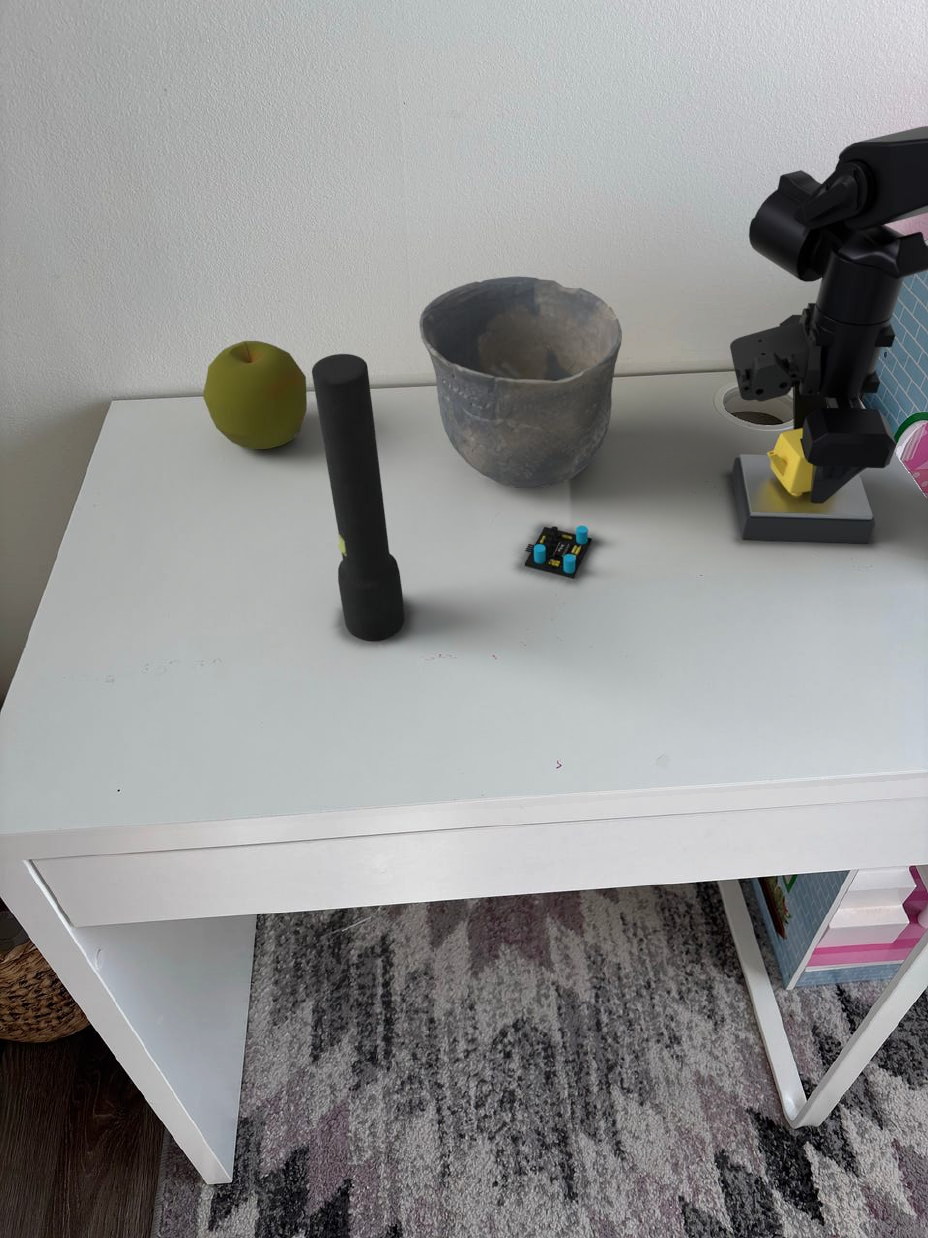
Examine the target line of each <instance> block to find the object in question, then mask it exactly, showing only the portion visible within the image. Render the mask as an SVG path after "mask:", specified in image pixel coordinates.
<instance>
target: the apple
mask: <svg viewBox="0 0 928 1238" xmlns="http://www.w3.org/2000/svg"><path fill="white" fill-rule="evenodd" d="M307 395H308V394H307V377H306V375H305V374H304V372H303V370H302V369H301V368H300V366H299V365H298V364H297V362H296V360H295V359H294V357H293V356H292V355H291V353H290V352H288V351H286V350H284V349H282V348H280V347H278V346H277V345H274V344H271V343H268V342H263V341H259V340H243V341H241V342H237V343H234V344H232V345H230V346H228V347H225V348H224V349H223V350H222V351H220V353H218V354H217V356H216V357H215V358H214V359H213V360H212V361H211V363H210V364H209V365H208V366H207V374H206V378H205V384H204V389H203V393H202V398H203V400H204V403H205V405H206V407H207V410H208V413H209V416H210V418H211V421H212V422H213V424H214V426H215V428H216V429H217V430H218V431H219V432H220V433H221V434H222V435H223V436H224V437H226V439H228V440H229V441H230V443H232V444H235V445H237V446H239V447H242V448H246V449H251V450H266V449H272V448H276V447H280V446H283V445H286V444H287V443H289V442H290V441H291V440H294V438H295V437H296V436H297V435H298V433H299V432H300V430H301V427H302V425H303V422H304V419H305V416H306V413H307V410H308V409H307V407H308V403H307V402H308V399H307V397H308V396H307Z"/></svg>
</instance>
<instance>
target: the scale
mask: <svg viewBox="0 0 928 1238" xmlns="http://www.w3.org/2000/svg"><path fill="white" fill-rule="evenodd" d="M730 480H731V485H732V490H733V498H734V502H735V508H736V514H737V520H738V525H739V531H740V536H741V540H745V541H746V540H747V541H774V542H775V541H778V542H779V541H781V542H809V543H811V542H812V543H839V544H840V543H841V544H842V543H844V544H868V543H869V541H870V539H871V536H872V534H873V530H874V527H875V525H876V522H875V518H874V515H873V511H872V509H871V506H870V502H869V500H868V497H867V493H866V491H865V490H866V489H865V486H864V484H863V481H862V478H861V474H860V473H859V474H857V475H856V476H855V477H853V478H852V479H851V480H850V481H849V482H847V483H846V484H845V485H844V486H843V487H842V488H841V489H839V490H838V491H837V492H836V493H835V494H834V495H832V496H831V497H830V498H829V499H828V500H827V501H826V502H824V503H822V504H815V503H811V501H810V492H811V491H807V492H802V495H800V496H794V495H792V494H791V493H789V492H788V491H787V489H786V488H785V487H784V486H783V484H782V483H781V482H780V480H779V479H778V478H777V476H776V475H775V473H774V472H773V470H772V469H771V459H770V457H769V456H768V454H750V453H749V454H748V453H747V454H746V453H740V454H739V457H735V458H734V462H733V466H732V471H731V475H730Z"/></svg>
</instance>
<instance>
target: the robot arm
mask: <svg viewBox="0 0 928 1238" xmlns="http://www.w3.org/2000/svg"><path fill="white" fill-rule="evenodd" d="M925 214H928V125H924V126H919V127H914V128H911V129H910V128H909V129H905V130H902V131H898V132H895V133H894V132H893V133H890V134H889V133H888V134H886V135H881V136H877V137H874V138H869V139H865V140H861V141H857V142H853V143H851V144H849V145H847V146H845V148H843V150H842V151H840V153H839V154H838V162H837V163H836V165H835V169H834V171H833V172H831V174H830V175H829V176H828V177H827V178H826V179H825V180H824V181H823V182H822V183H821V182H819V181H817V180H816V179H815V178H814V177H813V176H812V175H810V173H808V172H806V171H804V170H802V169H800V170H796V171H792V172H788V173H784V174H781V175H780V176H779V181H778V185H777V189H775V190H774V191H773V192H772V193H770V195H767V198H766V199H764V201H763V202H762V203H761V205H760V206H759V208H758V209H757V211H756V213H755V215H754V217H753V218H752V219H751V221H750V224H749V230H748V237H749V243H750V245H751V247H752V249H753V250H754V251H755V252H756V253H758V254H759V255H761V256H762V257H764V258H765V259H767V260H769V261H770V262H772V263H773V264H775V265H776V266H778V267H779V268H781V269H782V270H784V271H785V272H787V273H788V274H790V275H792V276H793V277H795V278H796V279H798V280H800V281H802V282H804V283H805V282H806V283H809V282H815V281H816V282H817V281H818V280H820V279H821V281H820V285H819V289H818V292H817V296H816V301H815V302H808V303H807V306H806V308H805V307H804V308H803V309H802V310H801V311H802V312H801V314H791V315H790V316H789V317H787V318H786V319H784V320H783V321H782V322H780V323H779V326H775V327H771V328H768V329H763V330H761V331H757V332H753V333H751V334H748V335H743V336H740V337H737V338H735V339H734V340H733V341H731V343H730V345H729V350H730V354H731V359H732V365H733V369H734V373H735V377H736V382H737V386H738V391H739V395H740V398H741V399H742V400H744V401H757V402H759V403H761V402H766V401H769V400H773V399H777V398H780V397H784V396H788V394H789V393H790V392H791V391H792V424H793V425H792V430H796V429H801V428H803V434H802V438H800V441H801V445H802V449H803V453H804V456H805V459H806V460H807V462H809V463H810V464H812V465H813V468H812V479H811V492H810V501H811V503H815V504H822V503H824V502H826V501H827V500H828V499H829V498H830V497H831V496H832V495H834V494H835V493H836V492H837V491H838V490H839V489H841V488H842V487H843V486H844V485H845V484H846V483H847V482H849V481H850V480H851V479H852V478H853V477H855V476H856V475H857V474H860V473H862V472H863V471H865V470H866V469H885V468H886V467H887V466H889V465H890V463H891V461H892V458H893V456H894V453H895V450H896V447H897V442H896V440H895V437H894V434H893V432H892V429H891V427H890V424H889V421H888V418H887V417H886V416H885V414H883V413H882V412H881V410H880V409H879V408H864V407H863V404H862V402H861V399H860V394H877V393H878V390H879V387H880V385H881V380H880V378H879V376H878V373H877V370H876V368H877V364H878V362H879V358H880V355H881V353H882V349H883V348H892V347H893V345H894V343H895V342H894V341H895V339H896V333H895V331H894V329H893V326H892V324H891V321H892V318H893V315H894V312H895V308H896V305H897V302H898V299H899V295H900V292H901V289H902V287H903V282H904V280H905V278H907V277H910V276H913V275H916V274H920V273H923V272H927V271H928V245H927V243H926V240H925V238H924V237H925V236H924V233H923V232H921V231H916V232H913V233H909V234H906V235H904V234H903V233H901V232H899V231H898V230H895V229H894V228H891V226H888V224H892V223H896V222H899V221H903V220H907V219H911V218H913V217H917V216H921V215H925Z"/></svg>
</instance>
